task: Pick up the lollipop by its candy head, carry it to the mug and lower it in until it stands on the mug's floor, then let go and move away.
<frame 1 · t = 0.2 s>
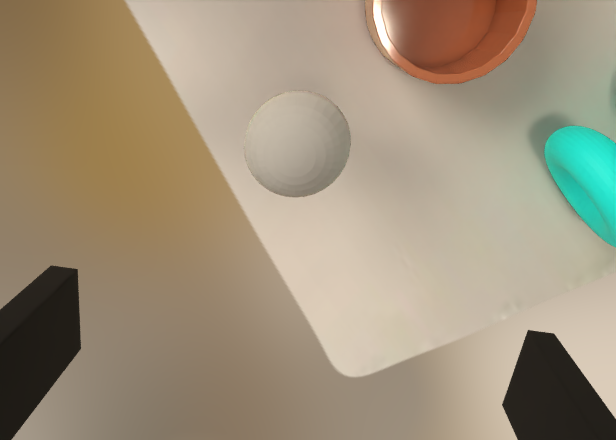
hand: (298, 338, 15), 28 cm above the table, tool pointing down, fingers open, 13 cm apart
lollipop: (306, 110, 40), on the table
donuts: (606, 143, 40), on the table
mug: (432, 3, 37), on the table
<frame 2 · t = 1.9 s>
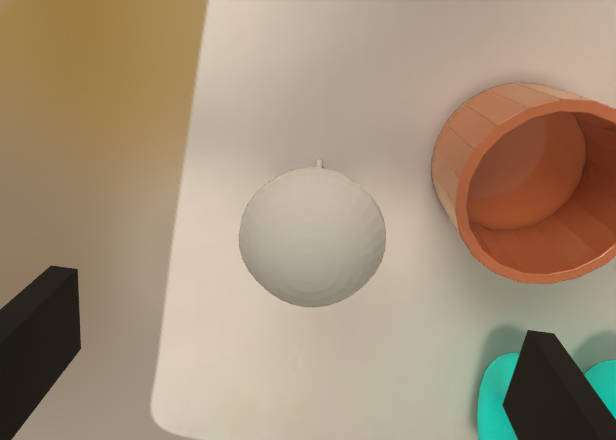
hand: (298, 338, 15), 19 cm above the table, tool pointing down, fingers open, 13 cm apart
lollipop: (319, 161, 33), on the table
donuts: (540, 382, 38), on the table
mug: (509, 161, 32), on the table
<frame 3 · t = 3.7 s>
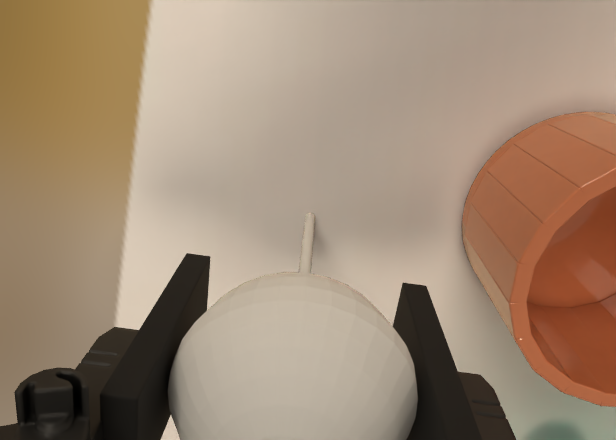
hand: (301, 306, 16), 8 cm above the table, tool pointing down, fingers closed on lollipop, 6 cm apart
lollipop: (310, 216, 24), on the table, touching gripper
mug: (568, 217, 24), on the table
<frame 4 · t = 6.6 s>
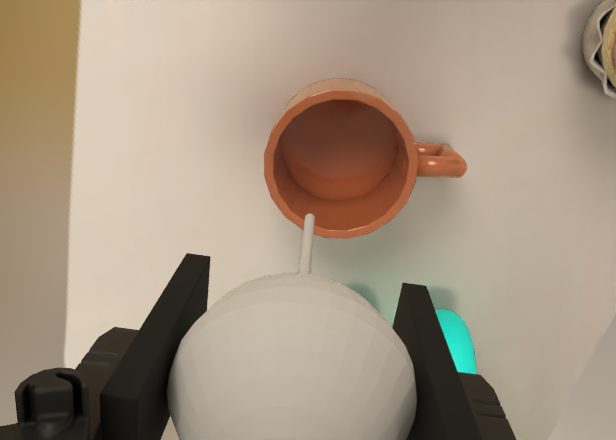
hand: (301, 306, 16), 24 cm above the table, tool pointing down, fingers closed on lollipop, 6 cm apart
lollipop: (309, 216, 24), point 16 cm above the table, touching gripper
donuts: (391, 333, 45), on the table
mug: (338, 144, 39), on the table
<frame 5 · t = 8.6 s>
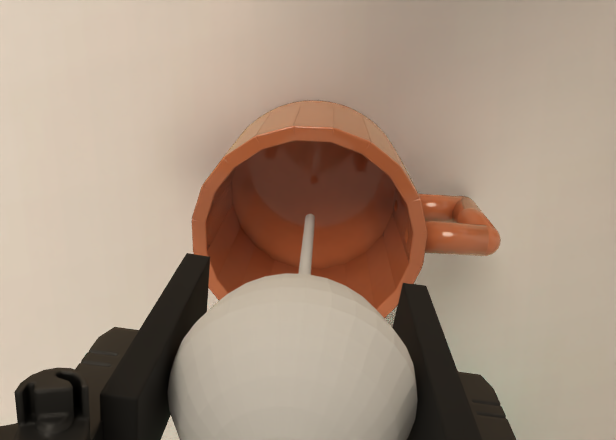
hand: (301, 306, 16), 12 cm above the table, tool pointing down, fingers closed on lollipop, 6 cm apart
lollipop: (310, 216, 24), point 4 cm above the table, touching gripper
mug: (313, 191, 28), on the table
when the fingers open (9 cm above the table, at t = 9.9 s): lollipop stays where it is, resting on mug.
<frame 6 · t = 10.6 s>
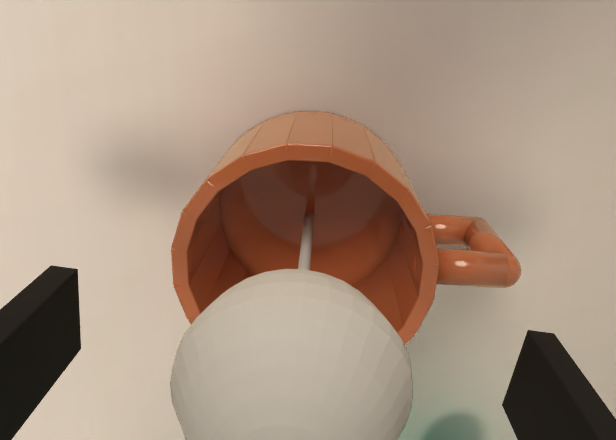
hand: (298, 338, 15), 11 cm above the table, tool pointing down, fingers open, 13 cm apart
lollipop: (309, 215, 25), point 1 cm above the table, touching mug
mug: (310, 210, 25), on the table
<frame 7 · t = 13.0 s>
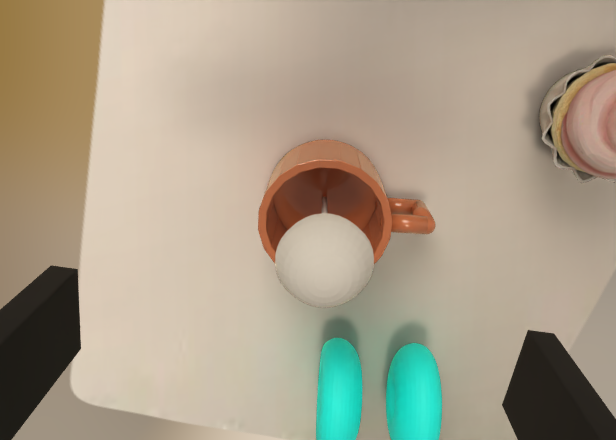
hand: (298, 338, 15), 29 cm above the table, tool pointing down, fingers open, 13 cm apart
lollipop: (324, 198, 43), point 1 cm above the table, touching mug
cupcake: (577, 110, 41), on the table
donuts: (370, 361, 50), on the table
mug: (324, 195, 44), on the table
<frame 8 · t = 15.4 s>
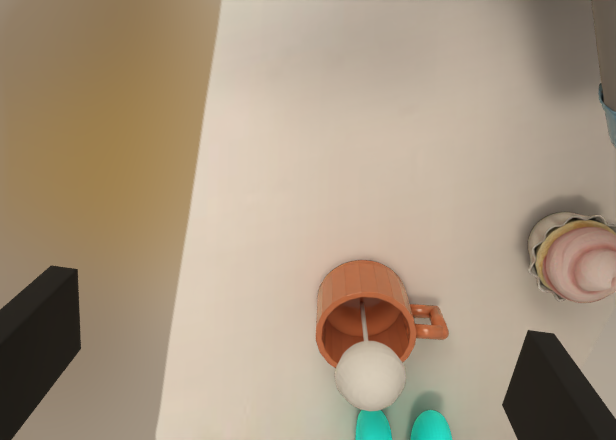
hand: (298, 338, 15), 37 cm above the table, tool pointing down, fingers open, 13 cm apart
lollipop: (361, 302, 56), point 1 cm above the table, touching mug
cupcake: (557, 238, 53), on the table
donuts: (396, 421, 62), on the table
mug: (361, 299, 56), on the table
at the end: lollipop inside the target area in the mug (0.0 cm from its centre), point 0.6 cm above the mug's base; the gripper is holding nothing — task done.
